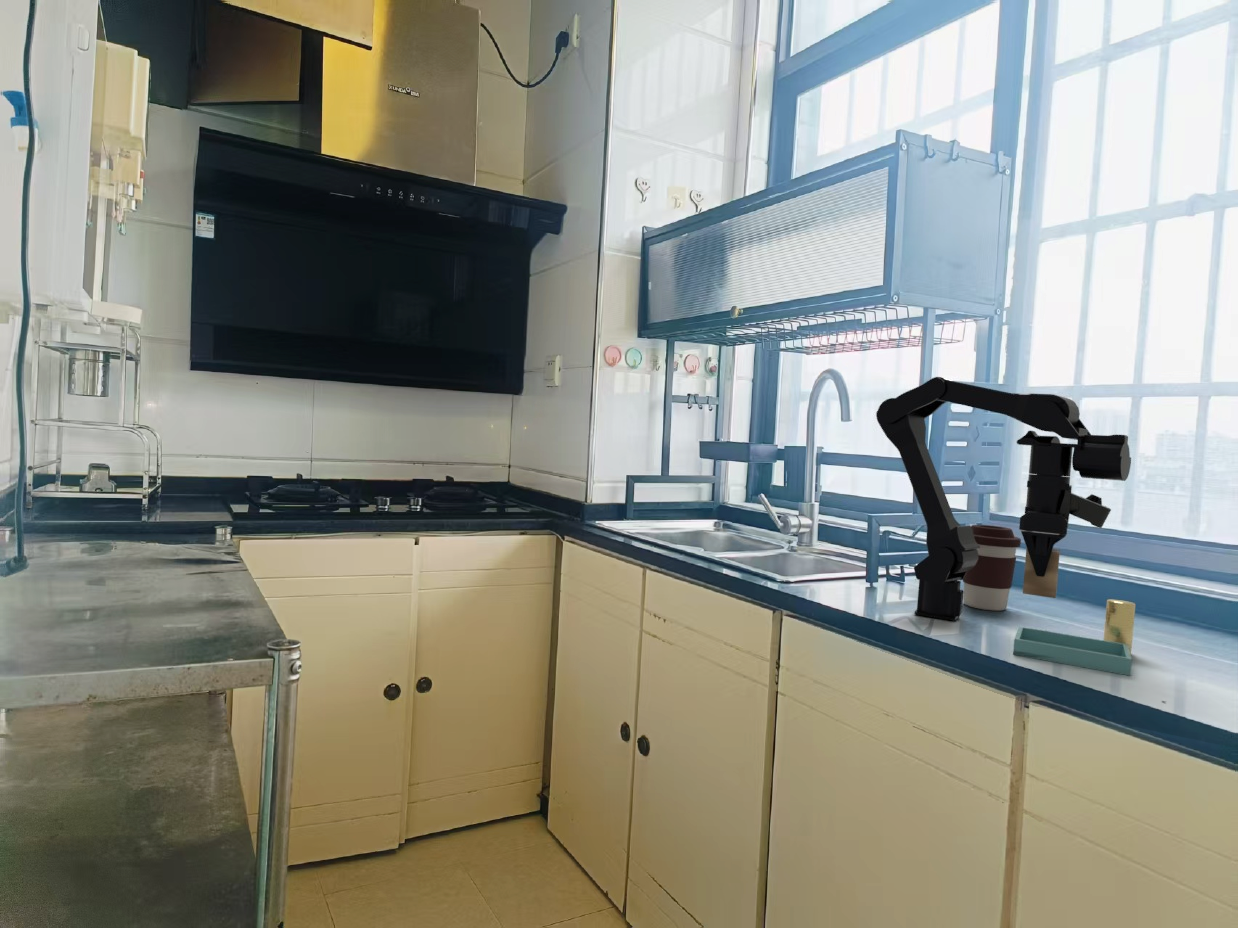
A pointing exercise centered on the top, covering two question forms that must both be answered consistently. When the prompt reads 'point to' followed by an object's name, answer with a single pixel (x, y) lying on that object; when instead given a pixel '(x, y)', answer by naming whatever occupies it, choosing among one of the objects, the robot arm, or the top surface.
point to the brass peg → (1119, 622)
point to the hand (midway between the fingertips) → (1040, 574)
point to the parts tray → (1073, 650)
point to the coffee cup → (991, 568)
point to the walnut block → (1042, 584)
